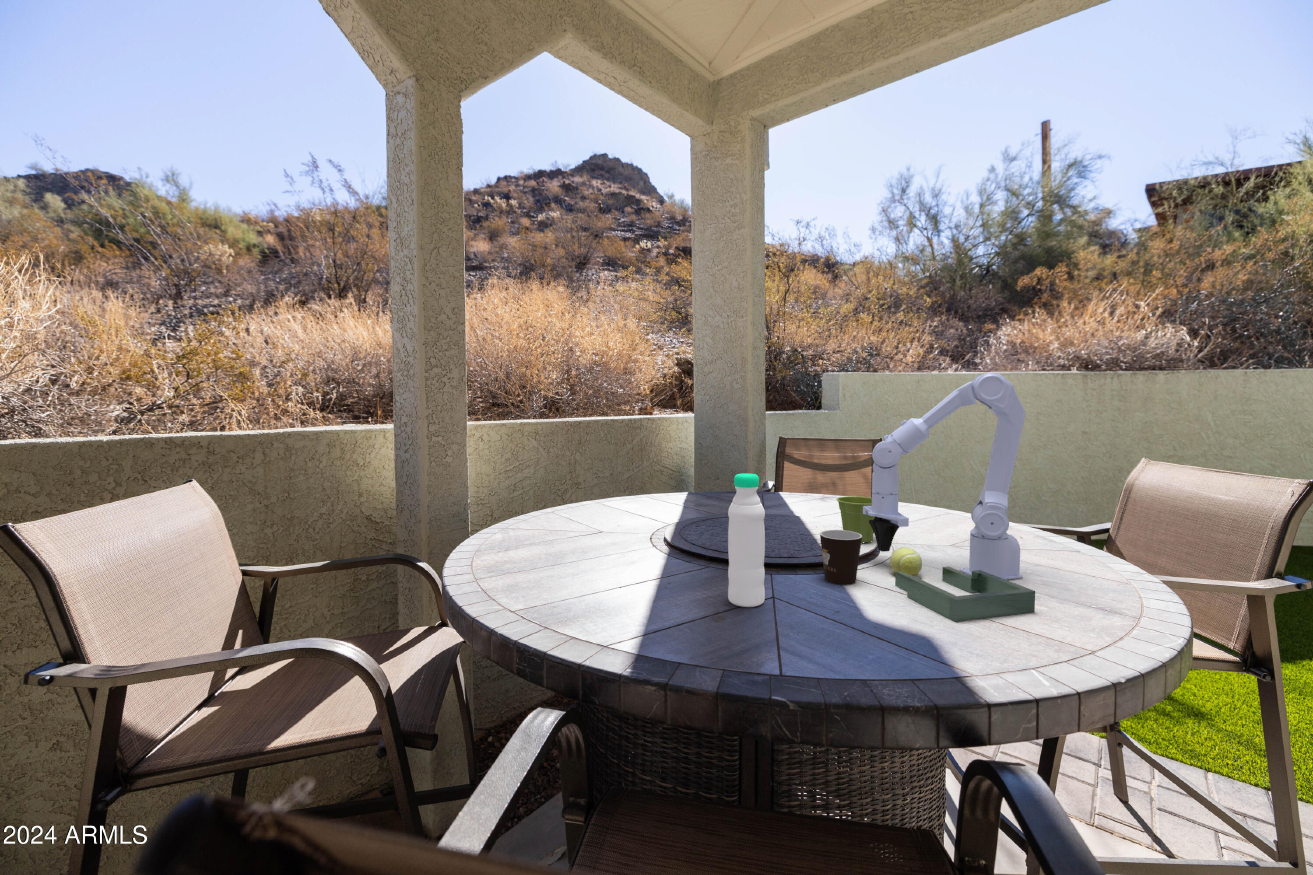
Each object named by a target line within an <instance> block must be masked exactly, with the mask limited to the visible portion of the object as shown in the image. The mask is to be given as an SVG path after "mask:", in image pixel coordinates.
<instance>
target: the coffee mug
mask: <svg viewBox="0 0 1313 875" xmlns="http://www.w3.org/2000/svg"><path fill="white" fill-rule="evenodd" d="M819 536H820V538H819V539H820V547H821V556H822V566H823V574H824V576H823V577H824V580H825V582H827V583H829V584H832V585H837V586H850V585H854V584H855V583H856V582H857V574H858V570H859V560H860V554H861V546H862V544H861V541H862V535H861V534H859V533H856V532H852V531H846V530H843V529H829V530H823V531H821V532H820V533H819Z"/></svg>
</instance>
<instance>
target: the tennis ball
mask: <svg viewBox="0 0 1313 875" xmlns="http://www.w3.org/2000/svg"><path fill="white" fill-rule="evenodd" d="M889 566H890V568H891V569H892V571H893V572H894V573H896V571H903V572H905V573H908V574H910V575H912V576H916V575H918V574H919V573H921V571H922V568H923V560H922V557H921V555H920V553H919V552H917V551H916V550H915V549H914V548H911V547H909V546H902V547H899V548H896V549H895V550H894V551H893V552H892V554H891V555H890V559H889Z"/></svg>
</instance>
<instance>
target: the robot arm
mask: <svg viewBox="0 0 1313 875" xmlns="http://www.w3.org/2000/svg"><path fill="white" fill-rule="evenodd" d="M977 401H978V402H979V403H981V404H982V405H985V406H986V407H988V409H989V410H990V411H991V413H992V414H993V415H994V416H995V417H996V419H997V421H996V422H997V423H996V426H995V427H996V428H995V431H994V435H993V440H992V441H993V442H992V444H991V449H990V455H989V459H988V465H987V467H986V472H985V478H984V482H983V486H982V490H981V492H980V495H979V499H978V501H977V503H976V504H975V505H974V506H973V508H972V509H971V513H970V517H971V521H972V523H974V525H975V526H974V527H973V528H972V529H971V530H970V532H969V560H968V561H969V564H968V567H965V568H964V567H962V568H960V569H959V571H961V572H964V573H966V574H969V575H971V576H972V571H975V570H981V571H984V572H987V573H989V574H992V575H995V576H997V577H1000V578H1002V579H1005V580H1015V579H1023V574H1020V567H1021V566H1020V565H1021V546H1020V543H1019V541H1018V539H1017V538H1016V537H1015V536H1013V535H1012V534H1008V531H1009V528H1010V520H1009V518H1008V514H1007V512H1008V508H1009V499H1008V498H1009V492H1010V491H1009V490H1010V487H1011V481H1012V476H1013V472H1014V468H1015V464H1016V459H1017V454H1018V452H1019V451H1018V450H1019V446H1020V442H1021V436H1022V432H1023V428H1024V423H1025V418H1026V411H1025V408H1024V407H1023V404H1022V402H1021V400H1020V399H1019V396H1018V394H1017V391H1016V390H1015V386H1014V385H1013V384H1012V383H1011V382H1010V380H1008V379H1007V378H1006V377H1005V376H1004V375H1001V374H999V373H998V372H987V373H982V374H979V375H977V376H976V377H975V378H974V379H973V380H972V381H968V382H967V383H965V384H963V385H961V386H959V387H958V388H956V389H955V390H953V391H952V392H951V393H950V394H948V395H947V396H946V397H945V398H943V399H942V400H941V401H940V402H938V404H936V405H935V406H934V407H932V408H931V409H930V410H929V411H927V412H926V413H925V414H924V415H923V416H921V418H914V417H911V418H910V419H907V420H906V419H904V420H902V421H901V422H900V424H901V426H899V427H898V428H896V429H895V430H894V431H893V432H891V433H890V434H889V435H888V434H885V435H884V436H883V439H884V440H882V441H879V442H878V443H877V444H876V445H874V448H873V450H872V453H871V455H872V456H871V457H872V460H873V465H872V471H873V472H872V476H871V478H872V479H871V482H872V483H871V498H872V506H863V514H865V515H867V514H868V515H870V516H874V517H875V519H874V520H869V524H870V525H871V527H872V529H873V532H874V534H873V535H874V537H875V540H876V545H877V549H878V551H879V552H882V553H883V552H890V550H891V546H892V543H893V540H894V537H895V535H896V533H897V531H898V530H899V529H900V528H904V527H905V528H906V527H909V524H910V523H909V520H910V518H909V517H907V516H905V515H904V514H902V513H900V512H899V487H900V486H899V485H900V484H899V483H900V482H899V481H900V480H899V479H900V474H899V472H898V470H899V469H898V467H899V464H898V463H899V461H900V458H901V456H906V455H907V454H909V453H911V452H912V451H913V450H914V449H916V448H917V447H918V446H919V445H921V444H922V443H924V442H925V441H926V440H927V439H929V438H930V430H931V429H932V428H933V427H935V426H936V425H938V424H939V423H940V422H942V421H943V420H944V419H946V418H947V417H949V416H950V415H951V414H953V413H954V412H956V411H957V410H959V409H960V408H962V407H966V406H970V405H971V406H973V405H976V404H977V403H978V402H977Z"/></svg>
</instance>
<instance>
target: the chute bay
mask: <svg viewBox="0 0 1313 875" xmlns="http://www.w3.org/2000/svg"><path fill="white" fill-rule="evenodd" d="M894 573H895V572H894ZM894 575H895V576H894V577H895V578H894V580H895V584H894V586H895V587H897V588H900V589H902V590H903V591H905V592H906V596H907V598H908V599H910V600H912V601H914V602H916V603H918V604H920V605H922V606H924V607H926V608H927V609H930V610H931V611H933V612H935V613H938V614H939V615H941V616H943V617H946V618H947V619H949V620H951V621H952V622H955V623H958V622H966V621H974V620H983V619H989V618H999V617H1007V616H1008V617H1009V616H1014V615H1015V616H1017V615H1023V614H1031V613H1033V614H1034V613H1035V609H1036V607H1035V606H1036V605H1035V604H1036V590H1033V589H1031V588H1028V587H1026V586H1023V585H1020V584H1018V583H1016V582H1013V581H1010V580H1009V579H1007V580H1005V579H1002V578H1000V577H997V576H995V575H992V574H989V573H987V572H984V571H981V570H975V571H972V576H971V575H969V574H966V573H964V572H961V571H960V569H956V568H953V567H952V566H942V576H941V577H942V579H941V580H942V582H944V583H946V584H949V585H951V586H953V587H956V588H958V589H960V590H963V591H964V592H967V593H969V594H963V595H956V594H953V593H951V592H948V591H947V590H944V589H942V588H940V587H938V586H936V585H934V584H931V583H930V582H927V581H925V580H923V579H922V578H921V577H919V576H912V575H910V574H908V573H905V572H903V571H896V573H895V574H894Z"/></svg>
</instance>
